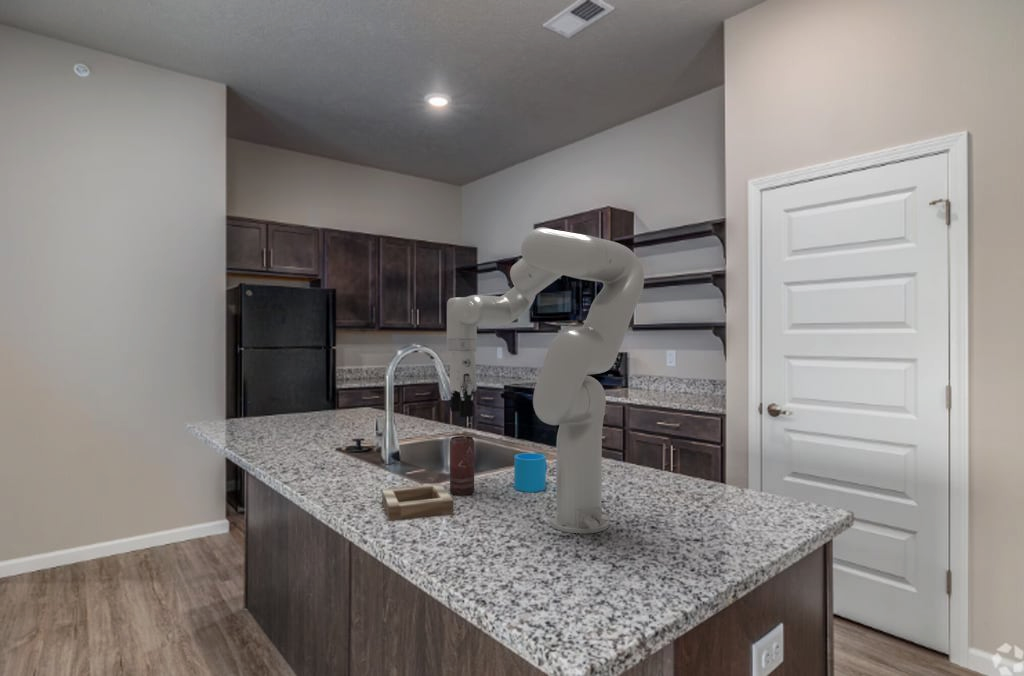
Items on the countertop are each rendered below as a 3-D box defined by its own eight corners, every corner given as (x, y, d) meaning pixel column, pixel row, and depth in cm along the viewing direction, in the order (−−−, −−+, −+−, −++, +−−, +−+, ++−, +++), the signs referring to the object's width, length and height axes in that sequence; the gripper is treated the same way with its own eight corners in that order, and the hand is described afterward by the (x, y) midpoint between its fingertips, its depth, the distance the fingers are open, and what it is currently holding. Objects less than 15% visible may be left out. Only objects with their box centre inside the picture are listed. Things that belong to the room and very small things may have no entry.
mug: (534, 493, 138) (534, 461, 138) (508, 488, 143) (508, 457, 143) (558, 483, 148) (558, 452, 148) (533, 478, 152) (533, 449, 152)
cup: (476, 489, 142) (476, 435, 142) (471, 496, 135) (471, 439, 135) (453, 488, 142) (452, 434, 142) (447, 495, 136) (447, 439, 136)
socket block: (453, 514, 122) (453, 499, 122) (389, 521, 117) (388, 506, 117) (440, 497, 135) (440, 483, 135) (382, 503, 130) (382, 489, 130)
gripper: (485, 347, 132) (485, 418, 132) (467, 345, 148) (467, 409, 148) (455, 347, 129) (454, 419, 129) (440, 345, 146) (440, 410, 146)
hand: (461, 413), depth 139 cm, fingers open, 9 cm apart
